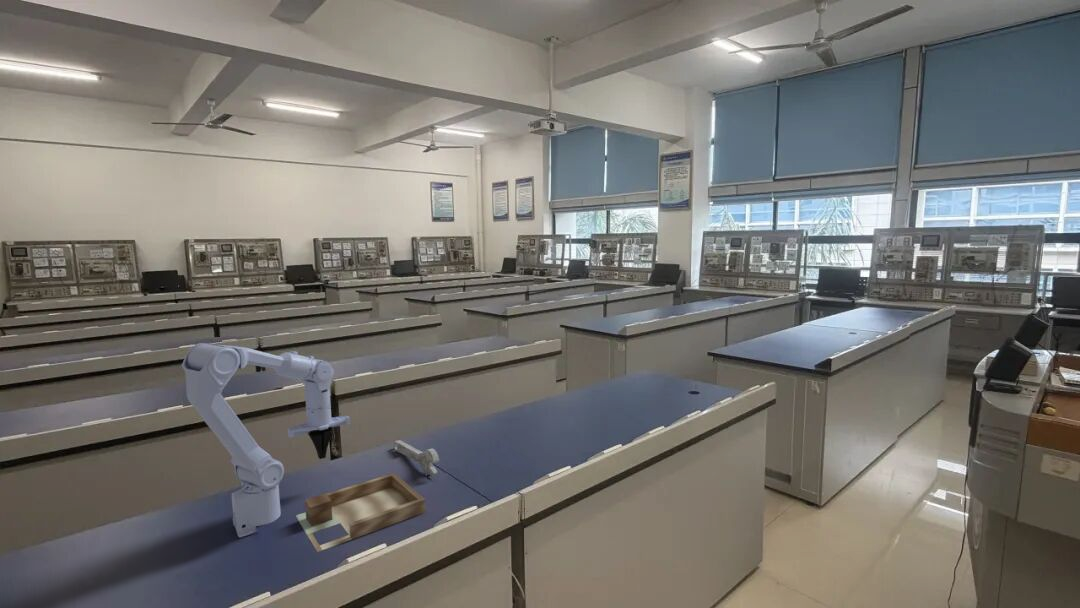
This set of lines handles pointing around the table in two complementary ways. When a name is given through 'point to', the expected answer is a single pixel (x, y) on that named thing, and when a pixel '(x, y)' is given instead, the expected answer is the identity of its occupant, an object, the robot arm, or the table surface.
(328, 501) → the walnut block
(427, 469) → the wrench
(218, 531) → the table surface
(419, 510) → the cubby base
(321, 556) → the table surface
